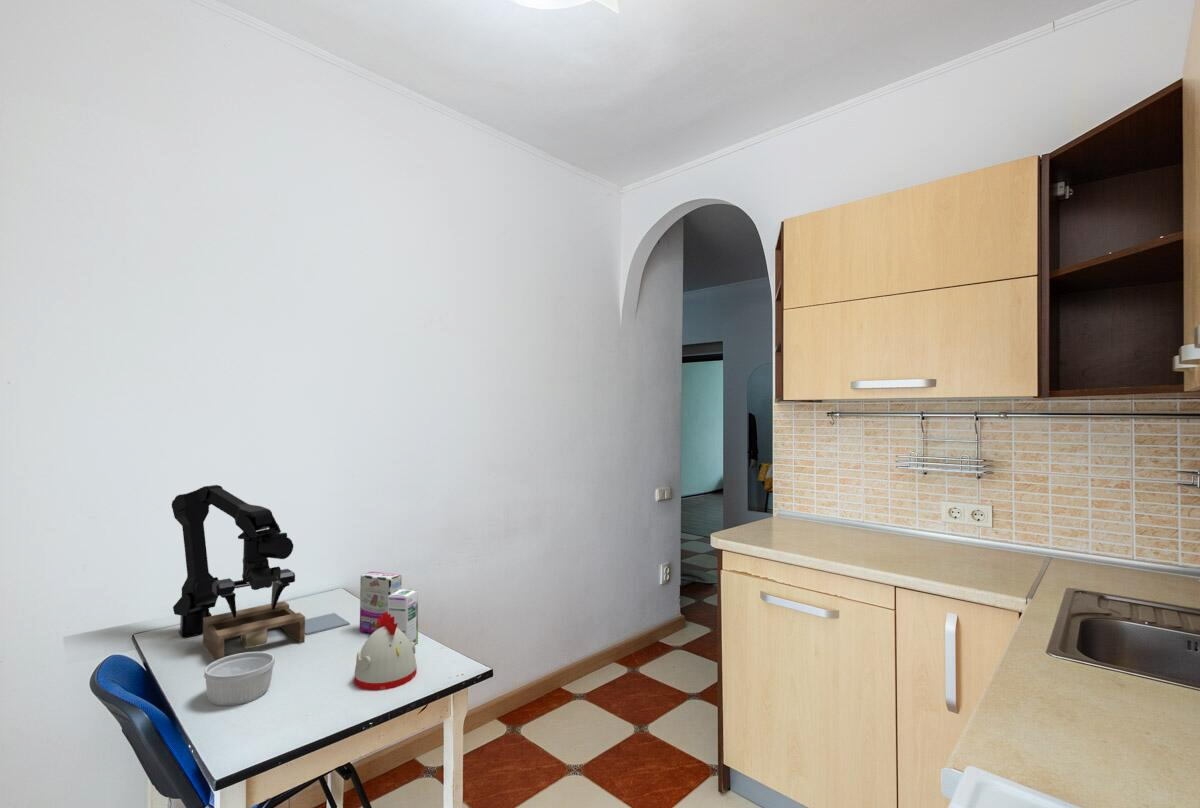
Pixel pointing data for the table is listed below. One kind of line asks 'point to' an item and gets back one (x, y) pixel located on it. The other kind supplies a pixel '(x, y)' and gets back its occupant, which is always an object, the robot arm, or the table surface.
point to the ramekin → (239, 678)
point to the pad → (324, 623)
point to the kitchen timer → (385, 658)
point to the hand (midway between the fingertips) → (254, 613)
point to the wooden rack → (250, 625)
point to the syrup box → (405, 612)
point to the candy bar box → (375, 598)
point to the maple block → (254, 638)
